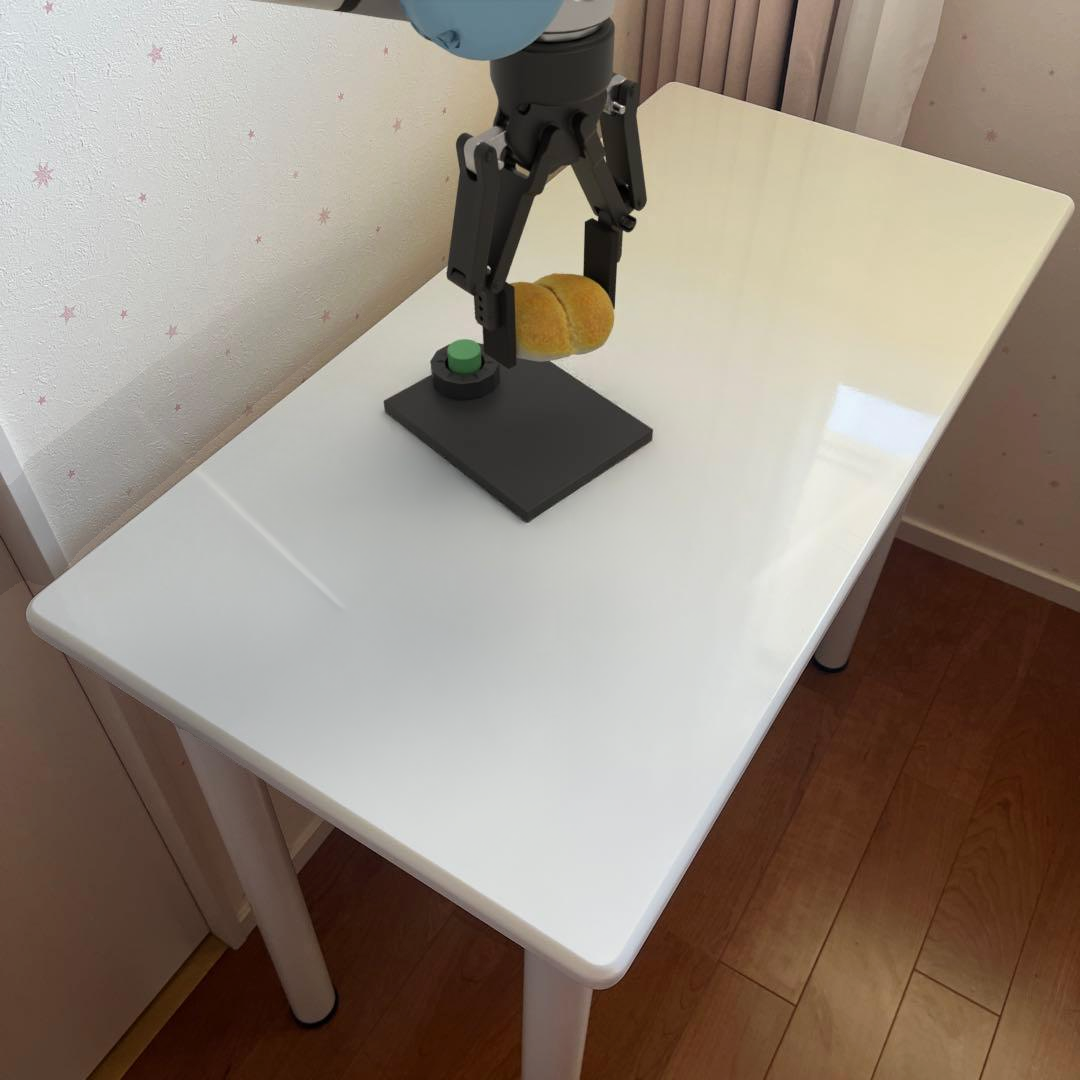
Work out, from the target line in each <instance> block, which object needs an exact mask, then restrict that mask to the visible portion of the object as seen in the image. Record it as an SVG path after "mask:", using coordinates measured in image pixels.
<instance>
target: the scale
mask: <svg viewBox="0 0 1080 1080" xmlns="http://www.w3.org/2000/svg"><path fill="white" fill-rule="evenodd" d="M477 343H478V344H479V346H480V348H481V368H480V369H479V370H478V371H477V372H475V373H473V374H466V375H461V374H456V373H453V372H452V371H451V370H450V369H449V366H448V354H447V349H448V346H449V345H450V344H451V343H448V344H447V345H445V346H443V347H441V348H439V349H437V350H436V351H435V353H434V354H433V356H432V357H431V360H430V361H429V362H430V363H429V364H430V373H431V374H429V375H428V376H425V377H424V378H422V379H420V380H419V381H416V382H415V383H414V384H412V385H409V386H408V387H406V388H404V389H402V390H401V391H398V392H397V393H395V394H393V395H391V396H389V397H388V398H386V399H384V400H383V408H384V412H385V414H387V415H389V416H390V417H391V418H393V419H394V420H395V421H396V422H397V423H399V424H400V425H402V426H403V427H404V428H405V429H407V430H408V431H409V432H410V433H411V434H413V435H414V436H416V437H417V438H418V439H420V440H421V441H422V442H423V443H424V444H426V445H427V446H428V447H430V448H431V449H432V450H433V451H435V452H436V453H437V454H438V455H440V456H441V457H443V458H444V459H445V460H446V461H448V462H449V463H450V464H452V465H453V466H454V467H455V468H456V469H458V470H459V471H460V472H461V473H463V474H464V475H466V476H467V477H468V478H469V479H471V480H472V481H473V482H474V483H476V484H477V485H478V486H480V488H482V489H483V490H484V491H486V492H487V493H488V494H490V495H491V496H492V497H494V498H495V499H496V500H498V502H500V503H501V504H503V506H505V507H506V508H507V509H509V510H510V511H511V512H512V513H514V514H515V515H516V516H518V517H519V518H521V519H522V520H523V521H524V522H525V523H529V522H530V521H532V520H533V519H535V518H536V517H538V516H540V515H541V514H543V513H544V512H546V511H547V510H549V509H550V508H552V507H553V506H554V505H556V504H558V503H559V502H560V501H562V500H564V499H565V498H567V497H568V496H570V495H571V494H573V493H575V492H576V491H578V489H581V488H582V487H583V486H585V485H587V484H588V483H589V482H591V481H593V480H594V479H595V478H597V477H599V476H600V475H602V474H603V473H605V472H606V471H607V470H609V469H611V468H612V467H614V466H615V465H617V464H618V463H620V462H621V461H623V460H624V459H626V458H627V457H629V456H630V455H632V454H633V453H634V452H636V451H638V450H639V449H641V448H643V447H644V446H646V445H647V444H649V443H650V442H651V441H653V437H654V429H653V428H652V427H650V426H649V425H647V424H646V423H644V422H643V421H642V420H640V419H638V418H637V417H635V416H633V415H632V414H630V413H629V412H627V411H626V410H625V409H623V408H621V407H620V406H618V405H617V404H615V403H614V402H612V401H611V400H609V399H608V398H607V397H605V396H603V395H602V394H601V393H599V392H597V391H596V390H595V389H593V388H591V387H590V386H588V385H587V384H586V383H583V381H581V380H579V379H577V378H576V377H575V376H573V375H572V374H570V373H569V372H567V371H566V370H564V369H562V368H561V367H560V366H558V365H557V364H555V363H554V362H553V361H543V362H540V361H533V360H527V359H520V358H517V357H516V365H515V366H514V367H512V368H510V369H507V368H506V367H505V366H503V365H502V364H500V363H499V362H497V361H496V360H494V359H493V358H491V357H490V356H489V355H487V354H486V353H484V346H483V343H481V342H480V343H479V342H477Z"/></svg>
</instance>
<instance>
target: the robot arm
mask: <svg viewBox="0 0 1080 1080" xmlns="http://www.w3.org/2000/svg"><path fill="white" fill-rule="evenodd" d="M250 1H251V2H259V3H266V4H267V3H268V4H274V5H275V4H276V5H284V6H291V7H297V8H307V9H314V10H322V11H323V10H324V11H329V12H330V11H331V12H337V13H346V14H353V15H359V16H366V17H373V18H380V19H385V20H394V21H401V22H407V23H409V24H410V25H411V27H412V28H413V30H414V31H415V32H416V33H417V34H418V35H419V36H421V37H422V38H423V39H425V40H426V41H430V42H431V43H433V44H436V46H438V47H440V48H441V49H443V50H445V51H446V52H448V53H450V54H451V55H454V56H455V57H459V58H462V59H465V60H470V61H480V62H482V61H483V62H484V61H487V62H488V61H489V77H490V80H491V83H492V86H493V88H494V91H495V94H496V97H497V109H496V111H495V112H496V113H495V116H494V118H493V122H492V127H491V128H489V129H487V130H486V131H483V132H482V133H480V134H479V135H477V136H474V135H472V134H470V133H469V132H462V133H461V134H460V135H458V137H457V139H456V141H455V150H456V156H457V163H458V170H459V174H458V182H457V189H456V198H455V203H454V204H455V205H454V213H453V221H452V229H451V235H450V236H451V237H450V244H449V251H448V258H447V259H448V260H447V267H446V278H447V280H448V281H450V282H452V284H454V285H456V286H457V287H458V288H460V289H462V290H463V291H465V292H466V293H468V294H470V295H471V296H473V306H474V307H473V308H474V319H475V322H476V323H477V324H478V325H480V326H481V328H482V344H483V346H484V353H486V354H487V355H489V356H490V357H491V358H493V359H494V360H496V361H497V362H499V363H500V364H502V365H503V366H505V367H506V368H507V369H510V368H512V367H514V366H515V365H516V325H515V287H514V286H512V285H510V283H509V282H507V279H508V276H509V274H510V270H511V267H512V264H513V261H514V258H515V255H516V253H517V249H518V247H519V245H520V241H521V238H522V236H523V232H524V229H525V226H526V224H527V220H528V218H529V215H530V213H531V209H532V206H533V203H534V201H535V198H536V197H537V196H539V195H541V194H542V193H543V192H544V190H545V187H546V184H547V181H548V178H549V176H550V175H552V174H554V173H555V172H556V171H558V170H559V169H560V168H561V167H564V166H570V167H571V169H572V172H573V173H574V175H575V177H576V179H577V182H578V184H579V186H580V188H581V190H582V192H583V194H584V196H585V199H586V200H587V203H588V204H589V206H590V209H591V211H592V212H593V214H594V215H595V217H597V219H595V218H593V217H591V218H589V219H587V220H584V234H583V236H584V237H583V269H582V271H583V272H582V273H583V274H582V276H585V277H588V278H590V279H592V280H594V281H595V282H597V283H598V284H599V285H600V286H601V287H602V288H603V289H604V290H605V291H606V293H607V294H608V296H609V298H610V300H611V302H612V305H613V309H614V310H615V309H616V295H617V294H616V293H617V274H618V263H620V261H621V258H622V256H623V255H622V254H623V240H624V239H623V237H624V233H628V234H629V233H631V232H632V231H633V230H634V229H635V228H636V226H637V218H636V217H635V216H633V215H631V214H632V212H633V211H636V212H640V211H643V209H644V208H645V206H646V205H647V201H648V197H647V195H648V194H647V188H646V180H645V173H644V163H643V157H642V156H643V155H642V149H641V140H640V134H639V126H638V125H639V124H638V117H637V114H638V106H639V99H640V93H641V86H640V84H639V83H638V82H637V81H634V80H632V79H630V78H627V77H625V76H623V75H621V74H619V73H617V72H615V71H614V56H615V53H614V52H615V33H616V25H615V21H613V19H612V18H611V16H612V14H613V13H614V12H615V7H616V0H250ZM598 122H599V127H600V134H601V138H602V140H601V138H600V135H599V133H598V131H597V130H598V126H597V124H598ZM517 166H518V167H520V168H521V169H523V170H525V171H527V172H529V174H528V175H527V174H525V173H523V172H521V171H519V170H518V169H517Z"/></svg>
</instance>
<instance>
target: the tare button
mask: <svg viewBox="0 0 1080 1080" xmlns="http://www.w3.org/2000/svg"><path fill="white" fill-rule="evenodd" d="M478 343H479V342H477V341H476V340H473V339H468V338H461V339H456V340H454V341H453V342H450V343H449V344H450V345H449V344H448V345H449V346H448V349H447V354H448V366H449V369H450V370H451V371H452V372H453V373H456V374H461V375H466V374H473V373H475V372H477V371H478V370H479V369H480V368H481V348H480V346H479V344H478Z"/></svg>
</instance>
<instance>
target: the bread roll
mask: <svg viewBox="0 0 1080 1080" xmlns="http://www.w3.org/2000/svg"><path fill="white" fill-rule="evenodd" d="M509 284H510V285H512V286H514V287H515V325H516V357H517V358H520V359H527V360H533V361H540V362H543V361H551V362H553V361H557V360H561V359H565V358H569V357H570V356H573V355H576V356H580V355H586V354H589V353H592V352H594V351H597V350H598V349H600V348H602V347H603V346H604V345H605V344H606V343H607V341H608V339H609V337H610V335H611V333H612V331H613V328H614V324H615V309H613V305H612V302H611V300H610V298H609V296H608V294H607V293H606V291H605V290H604V289H603V288H602V287H601V286H600V285H599V284H598V283H597V282H595V281H594V280H592V279H590V278H588V277H585V276H583V274H582V275H581V274H575V273H556V272H555V273H554V272H553V273H551V274H548V275H544V276H542V277H539V278H538V279H537V280H535V281H534V282H529V281H517V282H516V281H515V282H510V283H509Z"/></svg>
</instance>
